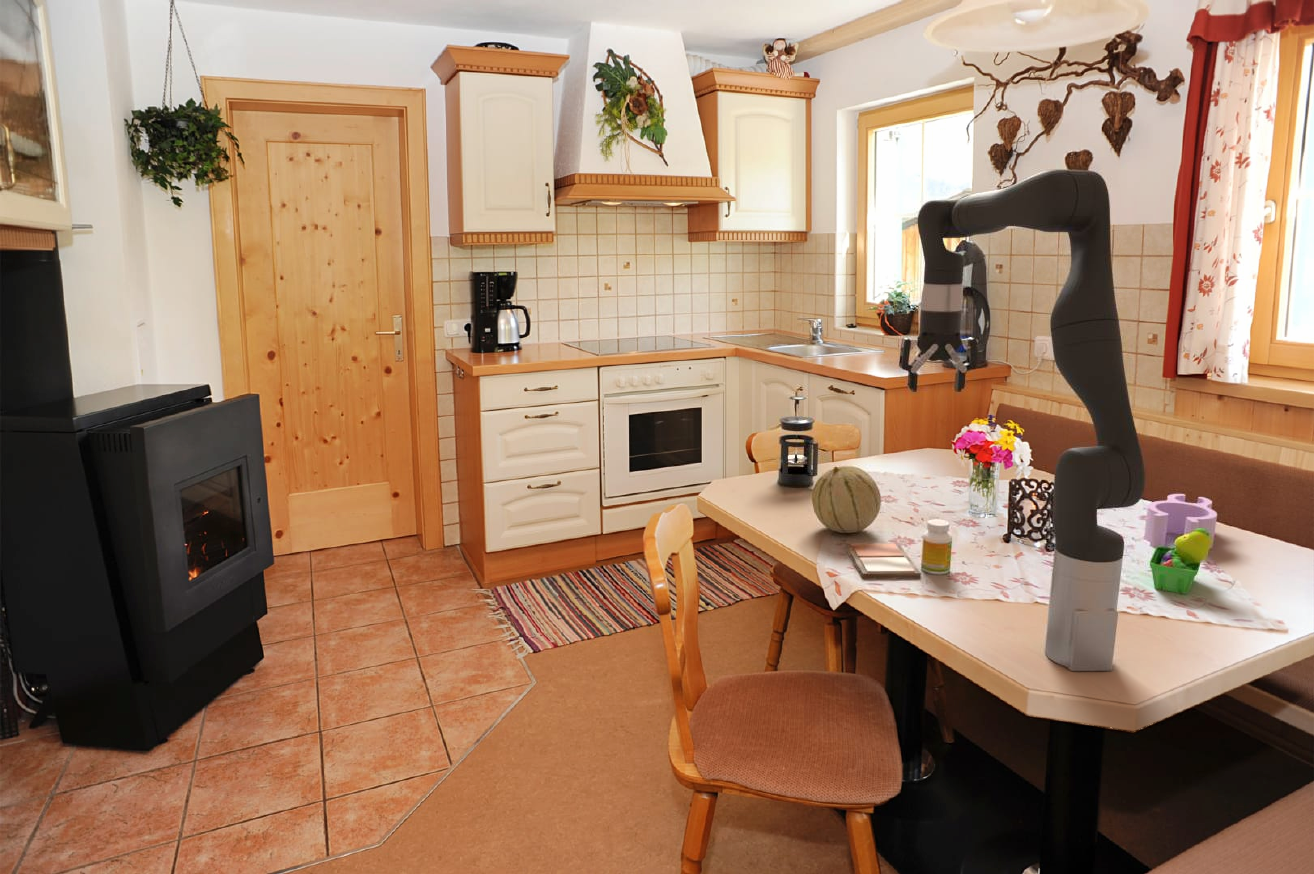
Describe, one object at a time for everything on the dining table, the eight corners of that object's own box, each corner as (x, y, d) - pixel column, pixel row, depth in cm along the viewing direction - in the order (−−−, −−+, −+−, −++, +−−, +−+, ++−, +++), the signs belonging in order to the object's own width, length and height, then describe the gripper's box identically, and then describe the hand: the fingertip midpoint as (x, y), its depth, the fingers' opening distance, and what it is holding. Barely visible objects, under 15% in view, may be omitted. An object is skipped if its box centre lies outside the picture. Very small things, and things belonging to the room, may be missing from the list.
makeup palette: (920, 577, 166) (921, 571, 166) (862, 578, 166) (862, 571, 166) (898, 548, 181) (899, 542, 181) (845, 548, 182) (845, 542, 181)
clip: (1156, 519, 197) (1160, 490, 196) (1221, 531, 190) (1225, 500, 188) (1137, 544, 182) (1140, 512, 181) (1206, 557, 174) (1211, 524, 173)
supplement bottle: (951, 576, 167) (954, 527, 164) (922, 574, 168) (925, 526, 165) (948, 565, 172) (951, 518, 170) (919, 564, 173) (922, 517, 171)
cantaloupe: (893, 533, 190) (897, 466, 187) (846, 547, 182) (849, 478, 179) (843, 516, 202) (845, 453, 199) (796, 528, 194) (798, 463, 191)
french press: (768, 482, 230) (769, 396, 225) (790, 475, 237) (792, 391, 231) (803, 491, 222) (805, 402, 217) (826, 483, 228) (828, 397, 223)
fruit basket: (1153, 569, 168) (1160, 514, 166) (1207, 579, 163) (1215, 522, 161) (1145, 589, 159) (1152, 530, 157) (1202, 600, 154) (1210, 540, 152)
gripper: (908, 310, 163) (903, 395, 167) (985, 309, 163) (978, 395, 167) (898, 306, 171) (894, 388, 174) (972, 305, 170) (966, 387, 174)
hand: (935, 391), depth 170 cm, fingers open, 8 cm apart
